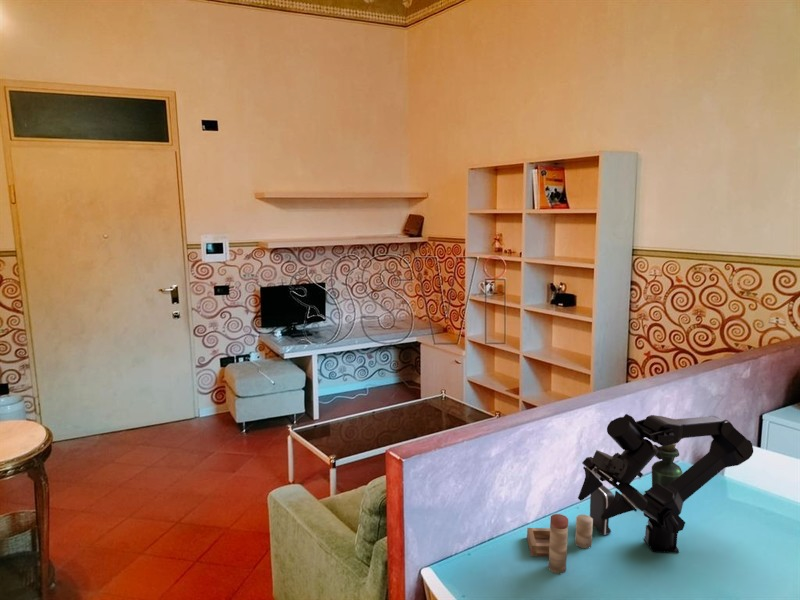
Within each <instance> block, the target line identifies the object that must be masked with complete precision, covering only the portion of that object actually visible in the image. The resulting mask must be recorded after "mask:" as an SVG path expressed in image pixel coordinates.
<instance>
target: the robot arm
mask: <svg viewBox="0 0 800 600" xmlns="http://www.w3.org/2000/svg"><path fill="white" fill-rule="evenodd" d="M606 427H607V428H606V433H607V434H608V435H609V437H611V439H612V440H613V441H614V442H615V443H616V444H617V445H618V446H619V447H620V448H621V450H623V452H622V453H619V452H616V453H613V455H610V454H608V453H605V452H603V451H600V450H598V449H596V450H595V452H594V454H593V456H589V457H586V458H585V459H584V460H583V461H581V462H582V465H583V470H584V474H585V475H584V481H583V483H582V486H581V489H580V492H579V494H578V496H577V498H578V500H579V501H580V502H581V501H584V500H585V499H586V498H588V497H589V496H591V494H592V493H593V492H594V491H595V490H597V489H598V488H599V487H601V486H602V485H603V486H604V484H603V482H607V483H608V484H610V485H611V486H612V487H614V489H616V490H615V493H614V500H613V501H612V502H611V504H610V505H609V506H608V507H607V508H606V510H605V511H604V512H603V514H602V515H601V517H600V518H601V519H602V520H606V519H609V520H610V519H611V518H614V517H617V516H619V515H622V514H625V513H629V512H633V511H634V512H637V511H638V510H639V511H640V512H642V513H643V516H644V517H646V518H647V524H645V530H644V531H645V533H644V540H645V542H646V544H647V546H649V548H650V550H651V552H653V553H672V554H673V553H674V554H677V553H680V549H679V548H678V546H677V543H678V534H679V532H680V531H683V530H684V528H685V525H686V521H685V520H684V519H683V518H682V517H680V515H681V513H682V509H683V506H684V502H686V501H687V500H688V499H689V498H690V497H692V495H694V494H695V493H696V492H698V490H700V489H701V488H702V487H704V486H705V485H706V484H707V483H708V482H709V481H711V480H712V479H714V478H715V477H716V476H717V475H718V474H719V473H721V472H722V471H723V470H724V469H726V468H730V467H731V468H732V467H736V466H740V465H742V464H743V463H745V462H746V461H748V460H749V459H750V458H751V457H752V456H753V453H754V446H753V443H752V441H751V440H749V439H747V437H745V436H744V435H743V434H742V433H741V432H740V431H739V430H738V429H737V428H736V427H734V425H733V424H732V422H730V421H729V420H727V418H723V417H721V416H719V415H716V414H711V415H709V416H699V417H698V416H696V417H687V418H671V417H666V416H663V415H654V414H651V415H648V416H646V417H645V418H643V419H640V420H637V421H636V420H635V419H634V417H633V416H631V415H630V414H628V413H626V414H624V415H623V417H622V416H621V417H617V418H614V419H613V420H611V421H609V423H608V424H607V426H606ZM708 436H709V437H710V438H711V439H712V440H711V441H710V446H709V451H708V452H707V453H706V454H705V455H703V456H702V457H701V458H700V459H699V460H697V461H696V462H695V463H694V464H693V465H691V466H690V467H689V468H688V469H686V470H685V471H684V472H682V475H680V476H679V477H678V478H677V479H675V480H674V481H673V482H672V483H671V484H669V485H668V486H661V485H660V484H658V483H656V484H654V485H653V486H652V485H651V487H650V488H649V489H647V490H644V494H642V493H641V492H640V491H639V490H638V489H636V488H635V487H634V486H633V485H631V483H632V482H634V480H635V479H636V478H637V477H638V478H642V477H643V476H644V473H643V472H642V471H643V470H644V468H645V467H646V466H647V465H648V464H649V463H650V462H651V461H652V459H654V458H657V459H658V460H662V454H661V448H660V446H669V445H673V444H676V445H677V444H678V443H680V442H681V440H682V439H689V438H697V437H698V438H700V437H708ZM652 442H653V443H656V444H653V443H652ZM657 444H658V445H660V446H658V445H657ZM617 490H618V491H619V492H618V491H617Z"/></svg>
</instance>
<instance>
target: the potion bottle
mask: <svg viewBox="0 0 800 600" xmlns="http://www.w3.org/2000/svg"><path fill="white" fill-rule="evenodd" d="M676 445H677V443H676V444H673V445H669V446H662V445H660V446H659V447H660V448H661V454H662V459H660V460H658V461H655V462H654V463H653V464H652V466H651V487H652V486H653V485H654V484H656V483H658V484H660V485H661V486H668V485H669V484H671V483H672V482H673V481H674V480H675V479H677V478H678V477H679V476H680V475H682V474H683V470H682V468H681V466H680V465H678V464H676V463H675V462H674V460H675V458H678V457H679V456H680V452H679V449H678V448H676Z"/></svg>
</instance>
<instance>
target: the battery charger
mask: <svg viewBox="0 0 800 600" xmlns="http://www.w3.org/2000/svg"><path fill="white" fill-rule="evenodd" d="M589 496H590V497H589V500H590V501H589V516H590V517H591V518H592V519H593V528H595V530H597V531H598V533H599V534H600V535H604V536H605V535H609V534H611V533H612V530H611V528H610V527H609V520H610V518H609V519H606V520H602V519H601V518H600V517H601V515H602V514H603V512H604V511H605V510H606V508H607V507H608V506H609V505H610V504H611V502H612V501H613V500H614V497H615V493H613V492H612V491H611V490H610V489H608V488H607V487H606V486H605V485H604V484H603V485H602V486H601V487H599V488H598V489H597V490H595V491H594V492H593V493H592V494H590V495H589Z"/></svg>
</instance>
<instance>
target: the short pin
mask: <svg viewBox="0 0 800 600" xmlns="http://www.w3.org/2000/svg"><path fill="white" fill-rule="evenodd" d="M593 528H594V526H593V519H592V518H591V517H590V515H588V514H578V515H577V516H576V519H575V538H574V539H575V540H574V543H575V545H576V546H577V547H578V546H579V547H578V548H580V547H581V548H580V549H584V548H587V549H590V548H591V547H592V546H593V545H592V544H593ZM591 545H592V546H591ZM589 547H590V548H589Z"/></svg>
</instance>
